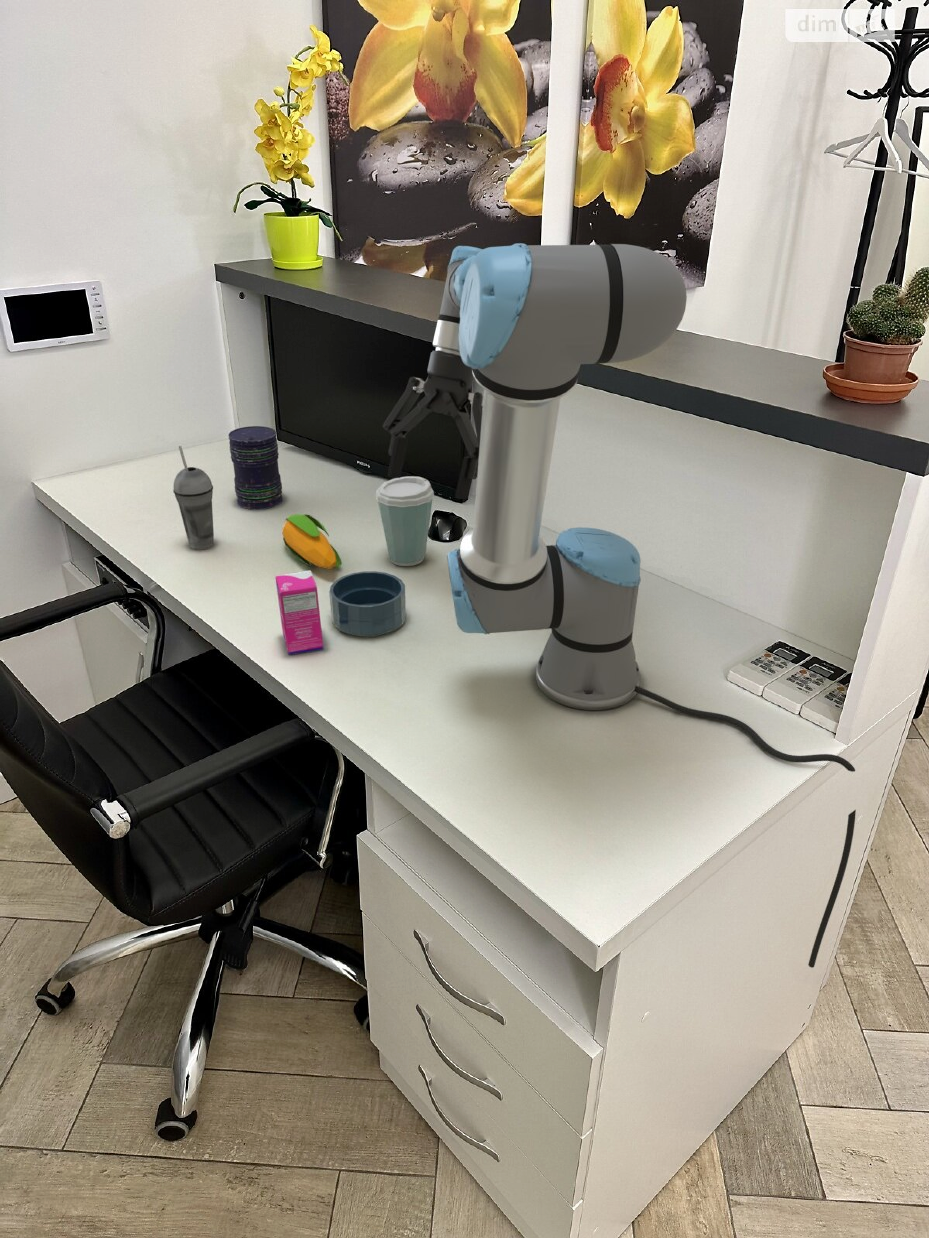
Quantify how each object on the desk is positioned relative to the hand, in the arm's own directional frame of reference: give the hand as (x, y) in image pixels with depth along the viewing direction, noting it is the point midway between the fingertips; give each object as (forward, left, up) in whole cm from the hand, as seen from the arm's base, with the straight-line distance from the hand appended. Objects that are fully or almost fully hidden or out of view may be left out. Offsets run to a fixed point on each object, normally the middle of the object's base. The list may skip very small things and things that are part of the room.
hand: (426, 487), depth 144 cm
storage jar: (+57, +3, -21) cm, 61 cm away
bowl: (0, +12, -21) cm, 24 cm away
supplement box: (0, +24, -21) cm, 32 cm away
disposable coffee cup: (+15, -6, -21) cm, 26 cm away
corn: (+25, +8, -21) cm, 34 cm away
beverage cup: (+44, +22, -21) cm, 54 cm away
